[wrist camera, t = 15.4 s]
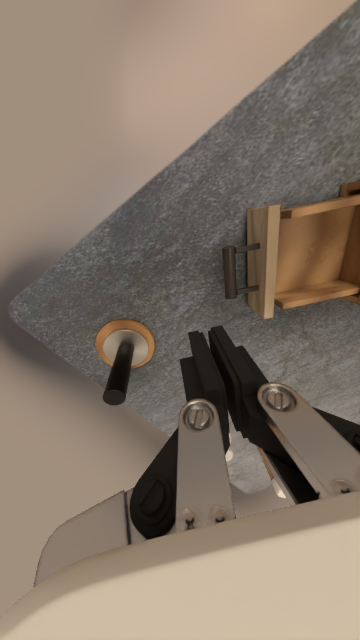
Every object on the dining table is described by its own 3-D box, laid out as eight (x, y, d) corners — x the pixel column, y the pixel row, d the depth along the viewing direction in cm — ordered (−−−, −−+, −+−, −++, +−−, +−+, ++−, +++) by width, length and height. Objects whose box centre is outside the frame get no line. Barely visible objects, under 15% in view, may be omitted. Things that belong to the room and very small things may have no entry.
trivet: (108, 370, 32) (107, 374, 31) (86, 325, 27) (85, 328, 27) (160, 359, 32) (160, 362, 31) (146, 313, 27) (146, 315, 27)
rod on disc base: (112, 367, 30) (95, 423, 22) (96, 333, 27) (69, 382, 19) (153, 359, 30) (152, 411, 22) (142, 323, 27) (135, 368, 19)
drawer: (220, 310, 28) (231, 326, 23) (212, 217, 22) (225, 215, 18) (334, 286, 28) (367, 297, 24) (357, 187, 22) (405, 178, 18)
